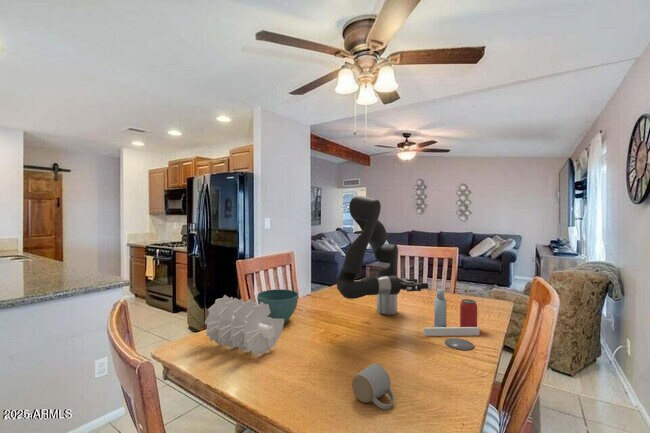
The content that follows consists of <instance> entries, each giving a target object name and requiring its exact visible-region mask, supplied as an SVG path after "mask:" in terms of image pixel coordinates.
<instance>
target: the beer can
mask: <svg viewBox="0 0 650 433" xmlns="http://www.w3.org/2000/svg"><path fill="white" fill-rule="evenodd" d="M459 312H460V313H459V327H478V305H477V301H476V300H475V299H468V298H467V299H466V298H465V299H461V302H460V305H459Z"/></svg>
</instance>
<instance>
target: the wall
mask: <svg viewBox="0 0 650 433" xmlns="http://www.w3.org/2000/svg"><path fill="white" fill-rule="evenodd" d="M423 336H424V337H440V336H441V337H443V336H444V337H447V336H448V337H450V336H451V337H454V336H458V337H459V336H466V337H467V336H480V327H479V326H477V327H460V326H457V327H456V326H454V327H453V326H451V327H450V326H446V327H434V326H433V327H423Z"/></svg>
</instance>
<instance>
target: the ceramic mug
mask: <svg viewBox="0 0 650 433" xmlns="http://www.w3.org/2000/svg"><path fill="white" fill-rule="evenodd" d="M391 384H392V381H391V378H390V375H389V373H388V371H387V370H386V369H385V368H384V367H383V366H382V365H381V364H379V363H372V364H370V365H369V366H367V367H366V368H364V369H363V370H362V371H360V372H358V373H357V374H356V375H355V376H354V377H353V378H352V382H351V386H352V387H351V388H352V391H353V393H354V395H355V397H356V398H357V399H358V401H360V402H361V403H363V404H369V403H372V402H373V403H374V404H375V406H377V407H378V408H380V409H382V410H389V409H391V408H392V407H393V405H394V403H395V395H394V393H393V391H392V390H391ZM386 394H387V395H388V396H389V398H390V401H391V403H388V404H387V403H386V404H385V403H382V402H381V401H380V400H379V399H378V398H381V397H382V396H384V395H386Z"/></svg>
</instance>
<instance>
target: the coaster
mask: <svg viewBox="0 0 650 433" xmlns="http://www.w3.org/2000/svg"><path fill="white" fill-rule="evenodd" d="M444 344H445V345H446V347H448V348H449V349H450V348H451V349H454V350H458V351H470V350H473V349H474V348H475V344H474V343H473V342H471V341H469V340H467V339H464V338H458V337H456V338H455V337H449V338H446V339H445V340H444Z"/></svg>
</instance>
